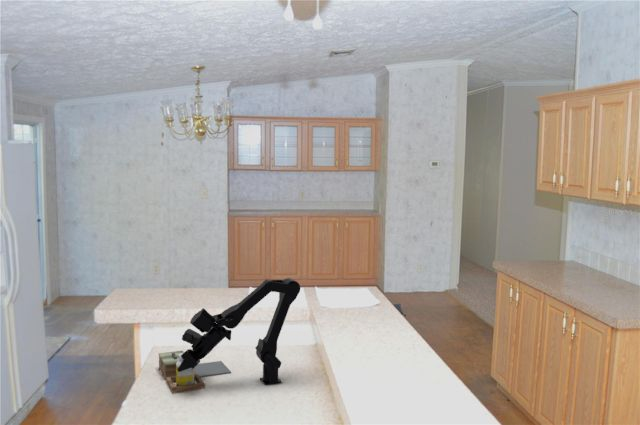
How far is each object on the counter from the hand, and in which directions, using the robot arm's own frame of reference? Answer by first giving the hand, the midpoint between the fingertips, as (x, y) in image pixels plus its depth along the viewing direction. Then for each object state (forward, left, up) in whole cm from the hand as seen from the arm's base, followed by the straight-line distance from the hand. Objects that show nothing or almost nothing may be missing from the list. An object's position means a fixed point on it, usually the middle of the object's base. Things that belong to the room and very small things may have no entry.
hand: (181, 367), depth 197 cm
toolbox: (+7, -1, -7) cm, 10 cm away
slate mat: (+12, -13, -7) cm, 19 cm away
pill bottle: (-1, -1, -7) cm, 7 cm away
